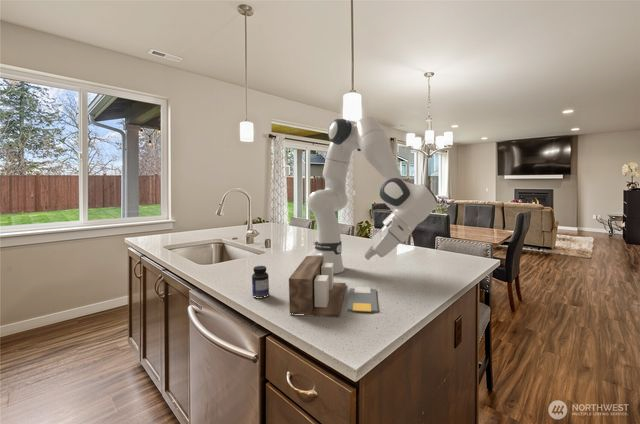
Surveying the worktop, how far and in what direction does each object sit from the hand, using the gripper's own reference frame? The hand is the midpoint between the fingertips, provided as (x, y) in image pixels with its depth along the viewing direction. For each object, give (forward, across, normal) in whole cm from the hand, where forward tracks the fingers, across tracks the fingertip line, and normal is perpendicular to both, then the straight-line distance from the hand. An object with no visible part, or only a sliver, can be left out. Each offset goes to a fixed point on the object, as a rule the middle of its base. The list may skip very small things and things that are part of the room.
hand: (365, 257), depth 100 cm
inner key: (+22, -15, +1) cm, 26 cm away
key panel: (+24, -7, 0) cm, 25 cm away
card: (+13, -7, +11) cm, 19 cm away
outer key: (+22, +1, 0) cm, 22 cm away
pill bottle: (+40, -7, -16) cm, 44 cm away
